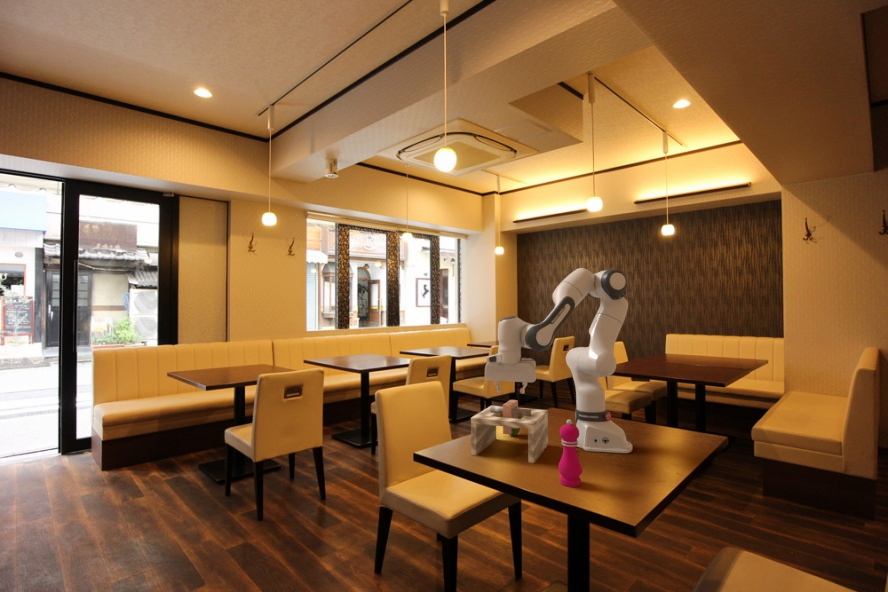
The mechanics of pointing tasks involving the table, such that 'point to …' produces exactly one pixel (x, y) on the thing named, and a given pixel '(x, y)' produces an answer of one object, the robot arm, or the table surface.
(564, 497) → the table surface
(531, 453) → the shelf
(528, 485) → the table surface
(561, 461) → the pepper mill
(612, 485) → the table surface
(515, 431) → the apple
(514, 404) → the u piece
